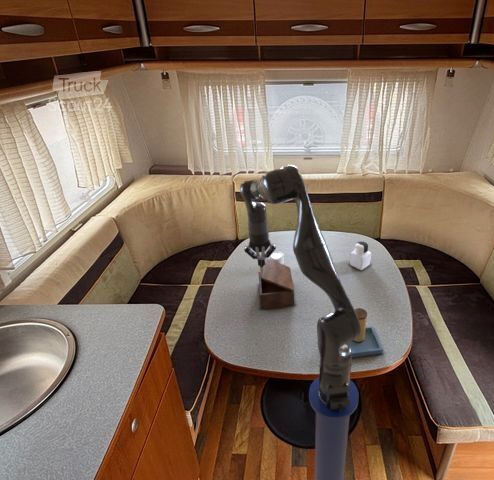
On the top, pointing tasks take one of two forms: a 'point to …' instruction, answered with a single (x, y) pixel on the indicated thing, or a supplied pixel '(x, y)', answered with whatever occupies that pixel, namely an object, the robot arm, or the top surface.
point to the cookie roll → (362, 318)
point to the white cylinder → (277, 257)
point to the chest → (274, 295)
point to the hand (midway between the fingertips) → (261, 265)
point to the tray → (366, 344)
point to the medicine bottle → (360, 256)
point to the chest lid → (277, 274)
